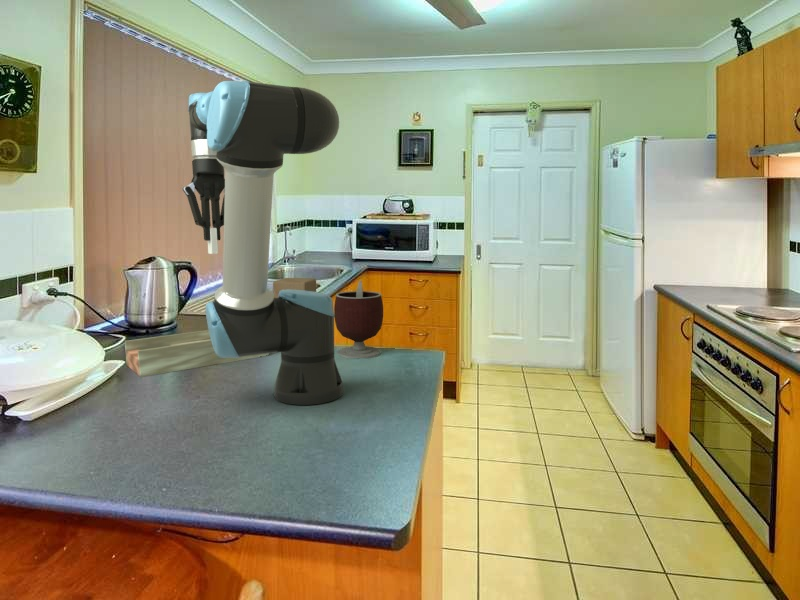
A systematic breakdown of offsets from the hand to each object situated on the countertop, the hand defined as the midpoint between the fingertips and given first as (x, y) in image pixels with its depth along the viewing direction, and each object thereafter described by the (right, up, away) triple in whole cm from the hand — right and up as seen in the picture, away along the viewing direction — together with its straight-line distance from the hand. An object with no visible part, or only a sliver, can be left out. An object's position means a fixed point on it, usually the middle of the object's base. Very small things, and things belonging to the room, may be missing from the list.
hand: (213, 253), depth 146 cm
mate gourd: (+36, -27, +18) cm, 49 cm away
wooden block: (+16, -26, +27) cm, 41 cm away
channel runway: (-7, -28, +10) cm, 31 cm away
